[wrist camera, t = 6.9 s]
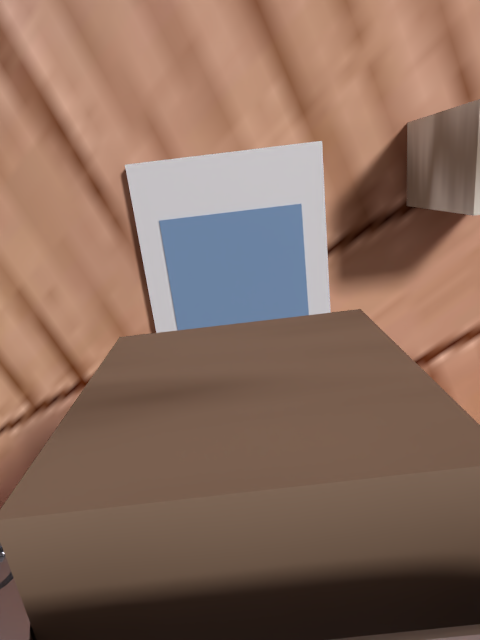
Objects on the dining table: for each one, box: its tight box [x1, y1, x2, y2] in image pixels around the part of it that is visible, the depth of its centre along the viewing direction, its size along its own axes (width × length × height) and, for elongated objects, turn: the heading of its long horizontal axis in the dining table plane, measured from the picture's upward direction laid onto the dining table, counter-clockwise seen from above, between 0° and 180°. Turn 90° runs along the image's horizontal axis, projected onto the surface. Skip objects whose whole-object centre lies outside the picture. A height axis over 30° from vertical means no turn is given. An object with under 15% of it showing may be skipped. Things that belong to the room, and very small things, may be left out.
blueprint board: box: [125, 141, 330, 333], centre depth 29 cm, size 16×12×1 cm
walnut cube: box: [0, 309, 480, 640], centre depth 9 cm, size 6×6×6 cm
